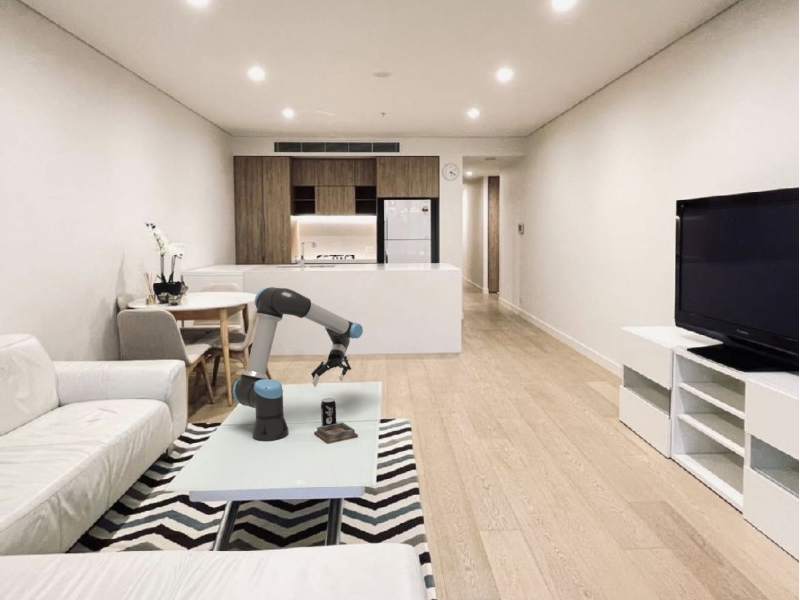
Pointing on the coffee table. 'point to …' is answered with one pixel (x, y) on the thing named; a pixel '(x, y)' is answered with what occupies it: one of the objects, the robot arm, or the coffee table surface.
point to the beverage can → (328, 411)
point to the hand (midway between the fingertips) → (327, 381)
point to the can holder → (335, 433)
